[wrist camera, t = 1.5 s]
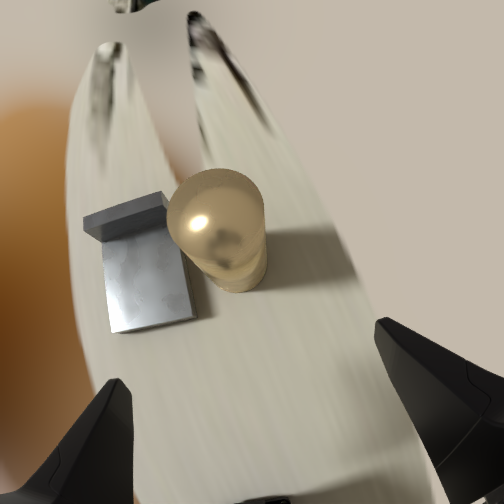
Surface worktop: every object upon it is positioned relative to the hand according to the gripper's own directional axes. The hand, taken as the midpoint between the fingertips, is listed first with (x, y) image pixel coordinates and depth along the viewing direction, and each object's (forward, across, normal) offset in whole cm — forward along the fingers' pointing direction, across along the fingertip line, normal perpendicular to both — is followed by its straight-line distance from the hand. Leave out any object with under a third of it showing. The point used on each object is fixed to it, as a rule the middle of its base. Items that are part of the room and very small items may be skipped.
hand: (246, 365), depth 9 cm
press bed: (+15, +8, +4) cm, 17 cm away
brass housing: (+14, 0, +4) cm, 15 cm away
